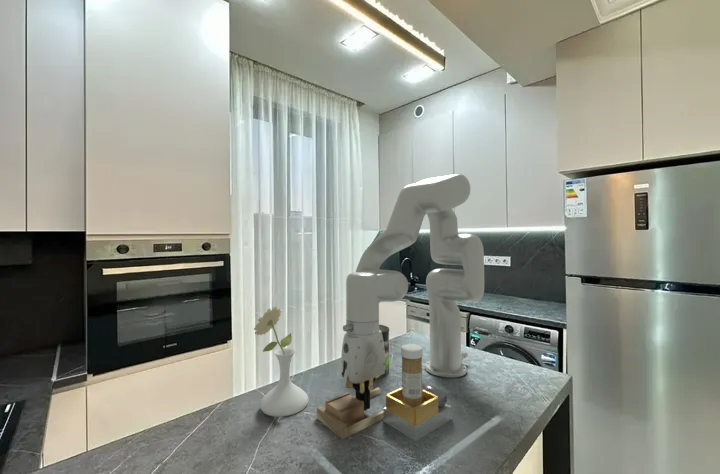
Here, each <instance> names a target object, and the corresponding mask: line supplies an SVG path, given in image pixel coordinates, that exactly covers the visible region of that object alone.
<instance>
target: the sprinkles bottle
mask: <svg viewBox="0 0 720 474" xmlns="http://www.w3.org/2000/svg"><path fill="white" fill-rule="evenodd" d="M400 356H401V388H402V401H403V403H405V404H407V405H409V406H411V407H413V408H415V407H417V406H418V405H420V404H422V394H423V383H424V382H423V367H422V366H423V363H422V362H423V361H422V360H423V347H422V346H421V345H419V344H415V343H412V344H411V343H407V344H403V345H401V347H400ZM422 382H423V383H422Z"/></svg>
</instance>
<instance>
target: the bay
mask: <svg viewBox="0 0 720 474" xmlns="http://www.w3.org/2000/svg"><path fill="white" fill-rule="evenodd" d="M378 395H381V388H380V387H379V386H377V387H376V388H372V390H370V399H371V398H374V397H376V396H378ZM354 397H355V398H356V396H354ZM316 419H317V420H318V421H319V422H321V423H322V424H323V425H324V426H326V427H327V428H328V429H330V431H332V432H333V433H334V434H335V435H337V436H338V437H339V438H341V439H342V440H344V439H346V438H348V437H350V436H352V435H354V434H356V433H358V432H361V431H362V430H364V429H366V428H368V427H370V426H372V425H373V424H376V423H378V422H380V421H383V420H384V415H383V409H382V410H381V411H379V412H376V413H373V414H372V415H370V416H368V417H366V418H364V419H363V420H361V421H359V422H357V423H355V424H353V425H351V426H349V427H347V425H346V424H344V423H343V422H341V421H340V420H339V419H337V418H336V417H335V416H333V415H332V414H331V413H329V412H328V411H327V410H326V409H325V408H324V407H323V406H317V407H316Z"/></svg>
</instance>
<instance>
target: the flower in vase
mask: <svg viewBox="0 0 720 474" xmlns="http://www.w3.org/2000/svg"><path fill="white" fill-rule="evenodd" d="M281 312H282V311H281V308H278V307H277V306H273V307H272V309H271V308H268V309H267V310H266V312H264V313H263V316H261V317H259V318H258V319H257V320H258V322H257V323H256V324H255V325H254V326H255V327H254V328H253V330H254V331H255V332H254V335H256V336H262V335H266V334H267V333H269V332H270V330H271V329H273V332H274V336H275V339H276V341H271V342H269V343H268V344H267V345H266V346H265V347H264V348H263V350H262V353H264V352H271V351H273V350H274V348H276V346H277V345H278V346H279V349H275V350H274V352H273V354H274V355H275V356H276V358H277V360H278V364H279V365H278V366H279V380H278V382H277V384H276V386H274V387H273V388H271V389H270V390H269V391H268V392H267V393H266V394H265V395H264V396H263V398H262V399H261V401H260V405H259V408H260V410H261V411H262V412H263V413H264V414H265V415H267V416H270V417H274V418H275V417H277V418H279V417H288V416H292V415H295V414H297V413H299V412H301V411H303V410H304V409H305V408H306V407H307V406H308V404H309V401H310V399H309V396H308V394H307V392H306V391H304V390H303V389H302V388H301V387H299V386H297V384H294V383H293V382H292V380H291V375H290V374H291V373H290V368H291V361H292V357H293V356H294V354H295V353H296V349H294V348H290V347H287V346H290V345H291V344H292V341H293V338H292V337H293V336H292V333H289V334H288V335H286V336H285V337H283V338H282V339H281V340H280V341H279V339H278V335H277V331H276V328H275V325H276V324H277V323H278V322H279V320H280V316H281Z"/></svg>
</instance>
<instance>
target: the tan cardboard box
mask: <svg viewBox="0 0 720 474" xmlns="http://www.w3.org/2000/svg"><path fill="white" fill-rule="evenodd" d="M355 397H356V396H353V395H351V392H348V391H347V392H344V393H342V394H340V395H337V396H334V397H332V398H329V399H327V400H324V401H325V402H324V403H325V408H324V409H326V410H327V411H328V412H329V413H331V414H332V415H333V416H335V417H336V418H337V419H339V420H340V421H341V422H343V423H344V424H346V425H347V427H349V426H351V425H353V424H355V423H357V422H359V421H361V420H363V419H365V411H364V401H360V400H358V399H356V398H355Z"/></svg>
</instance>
